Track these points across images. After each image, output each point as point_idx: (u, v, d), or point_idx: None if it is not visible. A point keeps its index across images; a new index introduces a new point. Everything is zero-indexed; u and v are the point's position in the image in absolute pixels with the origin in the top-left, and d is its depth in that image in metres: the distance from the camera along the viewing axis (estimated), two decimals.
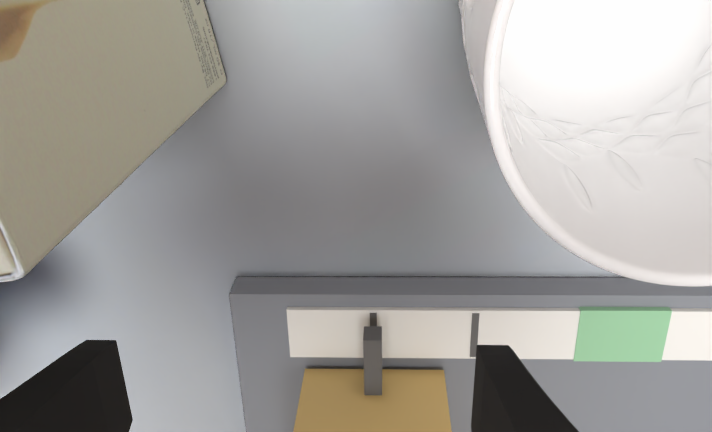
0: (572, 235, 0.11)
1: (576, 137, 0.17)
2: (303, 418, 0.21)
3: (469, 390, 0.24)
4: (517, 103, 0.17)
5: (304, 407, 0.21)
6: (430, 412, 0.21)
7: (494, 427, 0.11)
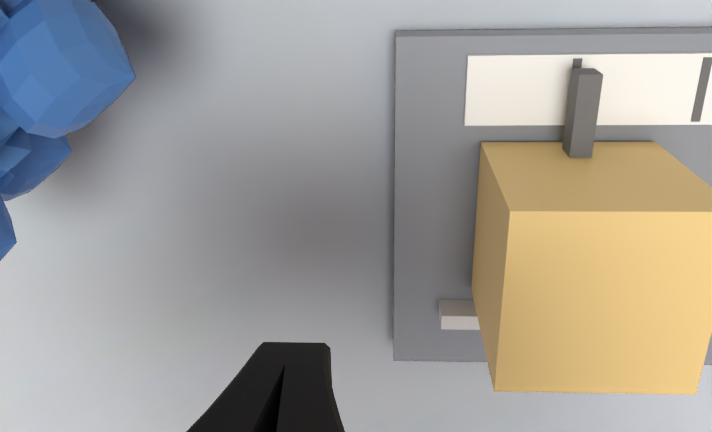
0: None
1: None
2: (504, 172, 0.16)
3: None
4: None
5: (499, 165, 0.17)
6: (663, 168, 0.17)
7: None
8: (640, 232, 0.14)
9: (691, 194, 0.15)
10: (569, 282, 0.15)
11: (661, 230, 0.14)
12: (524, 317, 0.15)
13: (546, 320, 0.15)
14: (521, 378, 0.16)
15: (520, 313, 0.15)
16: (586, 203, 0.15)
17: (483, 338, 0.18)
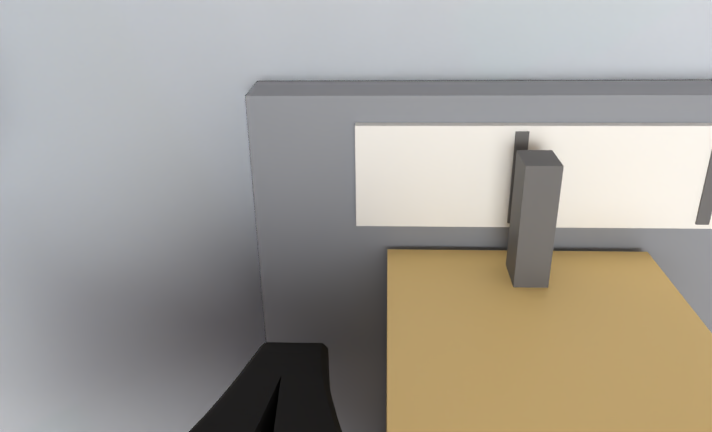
0: None
1: None
2: (403, 323, 0.10)
3: None
4: None
5: (400, 305, 0.11)
6: (658, 314, 0.10)
7: None
8: None
9: (705, 386, 0.09)
10: None
11: None
12: None
13: None
14: None
15: None
16: (525, 411, 0.08)
17: None
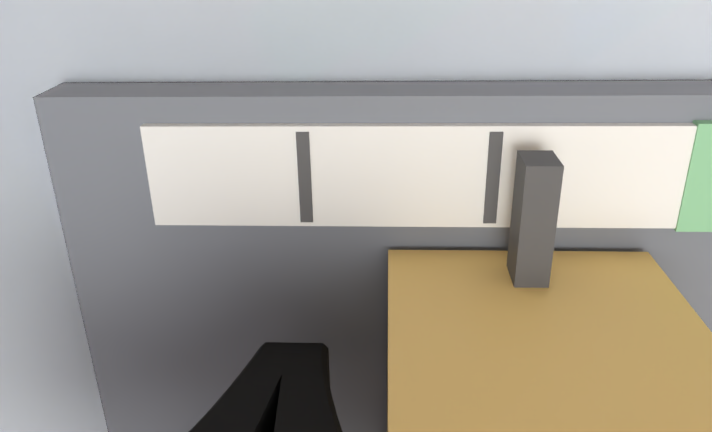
0: None
1: None
2: (404, 323, 0.10)
3: None
4: None
5: (401, 305, 0.11)
6: (659, 314, 0.10)
7: None
8: None
9: (706, 386, 0.09)
10: None
11: None
12: None
13: None
14: None
15: None
16: (526, 410, 0.08)
17: None
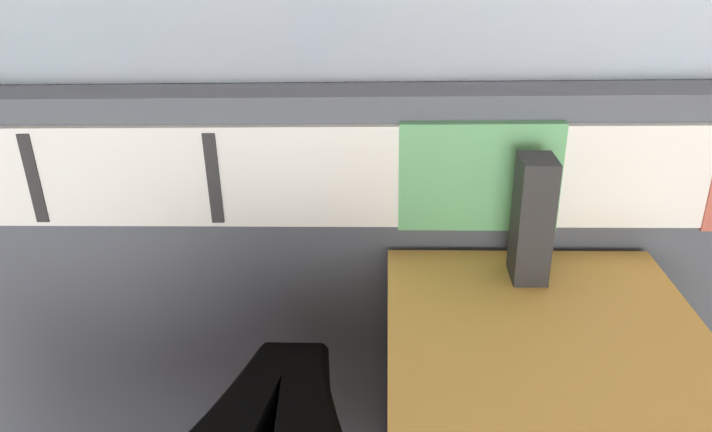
0: None
1: None
2: (403, 323, 0.10)
3: (228, 290, 0.13)
4: None
5: (401, 306, 0.11)
6: (658, 314, 0.10)
7: None
8: None
9: (704, 385, 0.09)
10: None
11: None
12: None
13: None
14: None
15: None
16: (525, 409, 0.08)
17: None
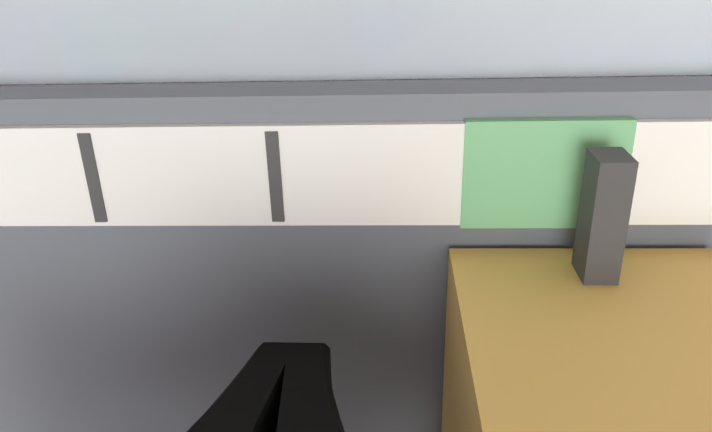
0: None
1: None
2: (479, 322, 0.10)
3: (285, 290, 0.13)
4: None
5: (472, 304, 0.11)
6: None
7: None
8: None
9: None
10: None
11: None
12: None
13: None
14: None
15: None
16: (619, 409, 0.08)
17: None
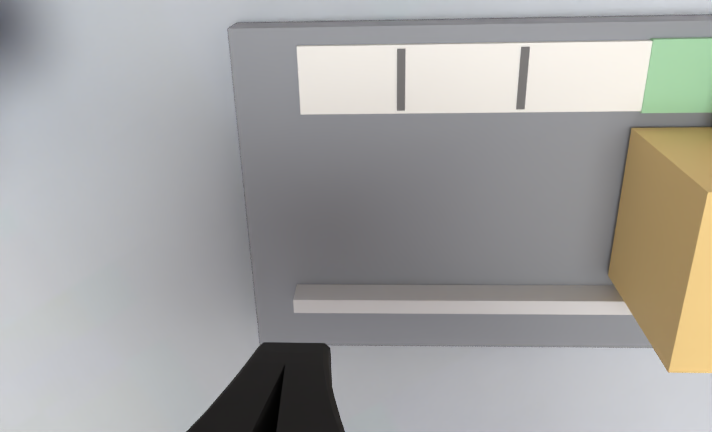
0: None
1: None
2: (676, 155, 0.17)
3: (514, 160, 0.20)
4: None
5: (666, 149, 0.17)
6: None
7: None
8: None
9: None
10: None
11: None
12: (708, 299, 0.16)
13: None
14: (697, 359, 0.16)
15: (704, 294, 0.16)
16: None
17: (640, 321, 0.18)
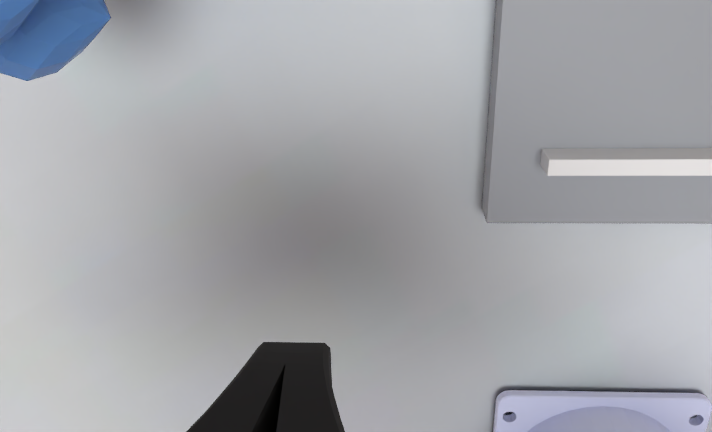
0: None
1: None
2: None
3: None
4: None
5: None
6: None
7: None
8: None
9: None
10: None
11: None
12: None
13: None
14: None
15: None
16: None
17: None
